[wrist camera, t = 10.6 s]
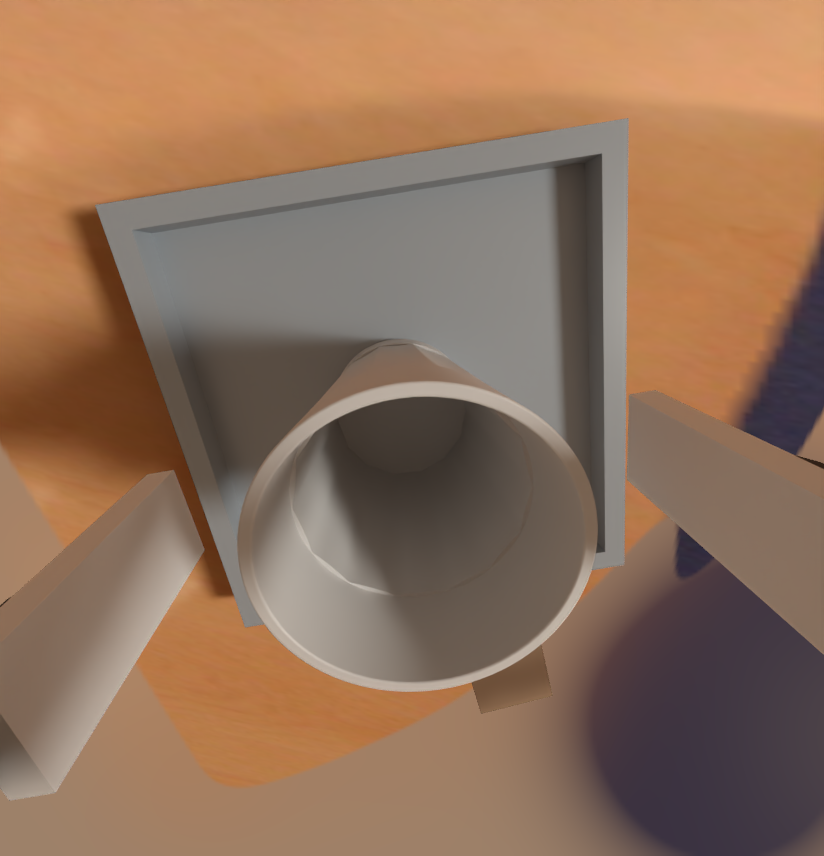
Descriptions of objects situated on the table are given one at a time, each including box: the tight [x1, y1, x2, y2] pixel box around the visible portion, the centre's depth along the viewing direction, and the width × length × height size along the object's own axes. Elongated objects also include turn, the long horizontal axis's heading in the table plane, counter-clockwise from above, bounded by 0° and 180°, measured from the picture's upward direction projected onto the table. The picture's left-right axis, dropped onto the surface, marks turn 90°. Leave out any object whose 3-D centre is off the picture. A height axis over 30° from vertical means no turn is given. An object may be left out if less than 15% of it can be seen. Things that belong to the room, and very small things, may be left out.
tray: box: [95, 118, 628, 627], centre depth 21 cm, size 20×20×2 cm
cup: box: [237, 339, 598, 692], centre depth 15 cm, size 8×8×12 cm
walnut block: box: [472, 645, 552, 714], centre depth 25 cm, size 4×4×4 cm
